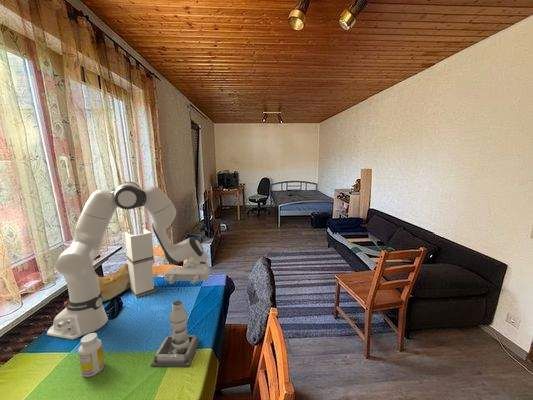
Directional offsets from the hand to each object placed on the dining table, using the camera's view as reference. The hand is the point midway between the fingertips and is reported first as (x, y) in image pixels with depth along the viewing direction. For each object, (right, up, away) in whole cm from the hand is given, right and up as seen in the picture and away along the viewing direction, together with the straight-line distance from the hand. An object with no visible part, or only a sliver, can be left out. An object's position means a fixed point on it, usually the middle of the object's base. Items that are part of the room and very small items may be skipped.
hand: (181, 282), depth 105 cm
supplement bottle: (-24, -25, -20) cm, 40 cm away
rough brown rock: (-51, -17, +32) cm, 63 cm away
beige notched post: (-34, -17, +33) cm, 51 cm away
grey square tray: (+3, -23, -13) cm, 26 cm away
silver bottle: (+4, -22, -13) cm, 26 cm away
